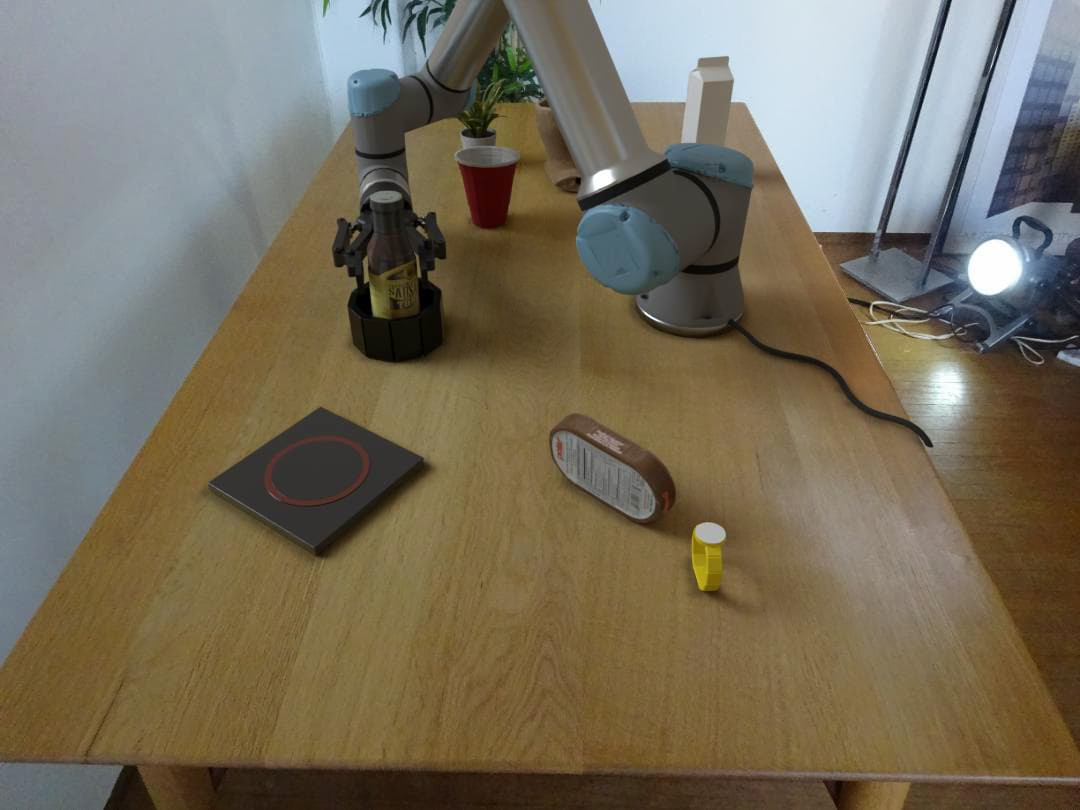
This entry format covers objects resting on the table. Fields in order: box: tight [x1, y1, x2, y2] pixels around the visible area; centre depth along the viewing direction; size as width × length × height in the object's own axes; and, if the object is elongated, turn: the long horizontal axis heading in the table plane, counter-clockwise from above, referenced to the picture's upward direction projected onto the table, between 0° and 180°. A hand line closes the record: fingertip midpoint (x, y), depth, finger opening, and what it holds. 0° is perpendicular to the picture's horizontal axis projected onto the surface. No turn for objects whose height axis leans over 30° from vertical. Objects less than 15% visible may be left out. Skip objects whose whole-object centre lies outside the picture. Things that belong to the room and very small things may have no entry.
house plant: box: [442, 77, 508, 149], centre depth 155 cm, size 14×14×16 cm
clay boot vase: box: [534, 97, 581, 193], centre depth 148 cm, size 15×12×15 cm
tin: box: [548, 412, 677, 524], centre depth 82 cm, size 15×3×8 cm, turn 47°
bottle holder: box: [346, 276, 446, 363], centre depth 108 cm, size 12×12×6 cm
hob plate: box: [207, 406, 425, 557], centre depth 87 cm, size 16×16×1 cm
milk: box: [680, 55, 735, 147], centre depth 147 cm, size 6×6×22 cm
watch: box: [691, 521, 727, 592], centre depth 75 cm, size 6×3×6 cm, turn 3°
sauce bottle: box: [366, 191, 420, 319], centre depth 103 cm, size 7×6×20 cm
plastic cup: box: [454, 145, 521, 230], centre depth 135 cm, size 11×11×12 cm
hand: (392, 281), depth 99 cm, fingers open, 7 cm apart
